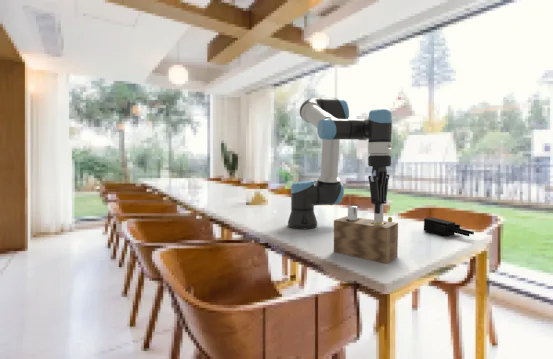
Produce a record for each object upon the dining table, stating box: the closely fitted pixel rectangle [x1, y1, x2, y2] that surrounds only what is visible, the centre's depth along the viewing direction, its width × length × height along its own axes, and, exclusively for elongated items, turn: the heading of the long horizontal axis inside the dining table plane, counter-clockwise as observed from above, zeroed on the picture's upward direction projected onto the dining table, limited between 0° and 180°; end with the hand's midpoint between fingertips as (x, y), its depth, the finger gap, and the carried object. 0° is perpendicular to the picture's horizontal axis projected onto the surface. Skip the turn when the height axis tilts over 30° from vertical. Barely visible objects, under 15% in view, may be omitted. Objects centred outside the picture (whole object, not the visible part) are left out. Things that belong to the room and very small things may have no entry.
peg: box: [347, 205, 358, 221], centre depth 115 cm, size 3×3×10 cm
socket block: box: [333, 215, 399, 264], centre depth 112 cm, size 20×10×12 cm, turn 49°
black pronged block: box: [423, 216, 475, 237], centre depth 139 cm, size 11×6×20 cm
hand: (378, 222), depth 108 cm, fingers closed
